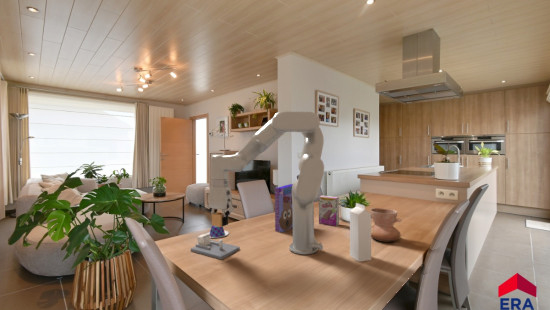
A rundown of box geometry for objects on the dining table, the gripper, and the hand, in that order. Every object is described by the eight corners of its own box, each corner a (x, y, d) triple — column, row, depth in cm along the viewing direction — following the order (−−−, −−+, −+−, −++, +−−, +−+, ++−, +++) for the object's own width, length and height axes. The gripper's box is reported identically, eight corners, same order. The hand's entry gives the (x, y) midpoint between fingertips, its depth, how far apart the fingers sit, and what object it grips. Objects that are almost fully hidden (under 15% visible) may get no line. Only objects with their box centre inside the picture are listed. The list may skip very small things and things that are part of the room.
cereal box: (282, 232, 134) (282, 188, 133) (275, 231, 136) (274, 187, 136) (297, 224, 149) (296, 184, 148) (290, 223, 151) (289, 183, 151)
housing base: (239, 249, 112) (239, 237, 112) (221, 259, 101) (221, 247, 101) (210, 242, 121) (210, 231, 121) (190, 251, 110) (190, 239, 110)
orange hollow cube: (228, 224, 110) (228, 212, 110) (220, 227, 106) (220, 215, 106) (219, 222, 113) (219, 211, 112) (211, 225, 108) (211, 214, 108)
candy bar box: (318, 223, 149) (318, 196, 149) (321, 221, 153) (321, 195, 153) (336, 226, 143) (336, 198, 143) (339, 224, 147) (339, 196, 147)
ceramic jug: (408, 240, 121) (407, 210, 121) (394, 247, 111) (394, 215, 112) (373, 231, 135) (372, 205, 135) (358, 237, 125) (358, 209, 125)
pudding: (226, 239, 126) (226, 228, 126) (202, 239, 126) (202, 229, 126) (230, 231, 138) (230, 221, 138) (208, 231, 138) (208, 222, 138)
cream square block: (210, 243, 115) (210, 234, 115) (203, 246, 112) (203, 236, 112) (204, 242, 117) (204, 232, 117) (197, 245, 114) (197, 235, 114)
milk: (358, 262, 98) (358, 206, 97) (349, 255, 104) (349, 203, 103) (371, 259, 100) (371, 205, 99) (362, 253, 105) (361, 202, 105)
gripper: (240, 183, 108) (240, 224, 108) (211, 180, 116) (212, 219, 117) (229, 185, 101) (229, 229, 102) (199, 182, 110) (199, 223, 110)
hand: (220, 223), depth 109 cm, fingers closed on orange hollow cube, 5 cm apart
